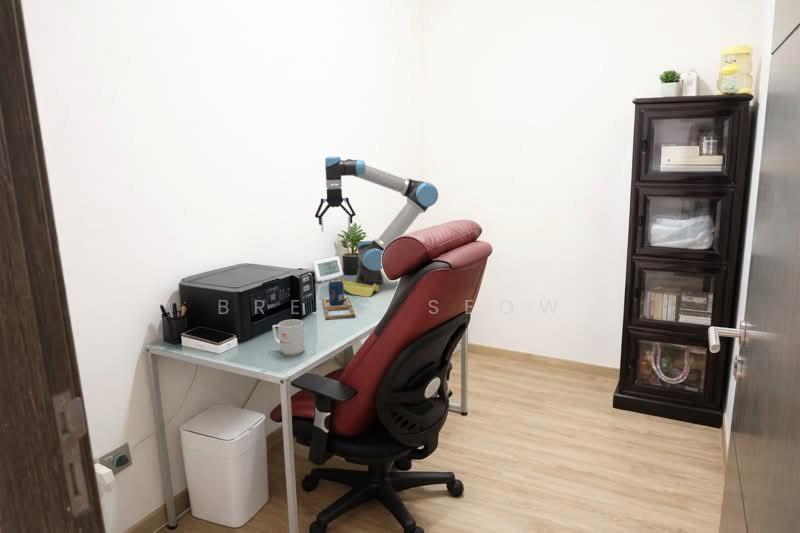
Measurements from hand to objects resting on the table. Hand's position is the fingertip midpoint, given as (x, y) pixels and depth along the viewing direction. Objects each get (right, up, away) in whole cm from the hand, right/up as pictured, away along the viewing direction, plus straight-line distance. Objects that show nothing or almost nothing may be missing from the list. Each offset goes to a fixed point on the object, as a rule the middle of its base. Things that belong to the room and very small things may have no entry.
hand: (336, 230), depth 277 cm
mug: (-9, -50, -73) cm, 89 cm away
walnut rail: (+4, -38, -23) cm, 44 cm away
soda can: (+2, -36, -16) cm, 40 cm away
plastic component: (+11, -32, +5) cm, 34 cm away
